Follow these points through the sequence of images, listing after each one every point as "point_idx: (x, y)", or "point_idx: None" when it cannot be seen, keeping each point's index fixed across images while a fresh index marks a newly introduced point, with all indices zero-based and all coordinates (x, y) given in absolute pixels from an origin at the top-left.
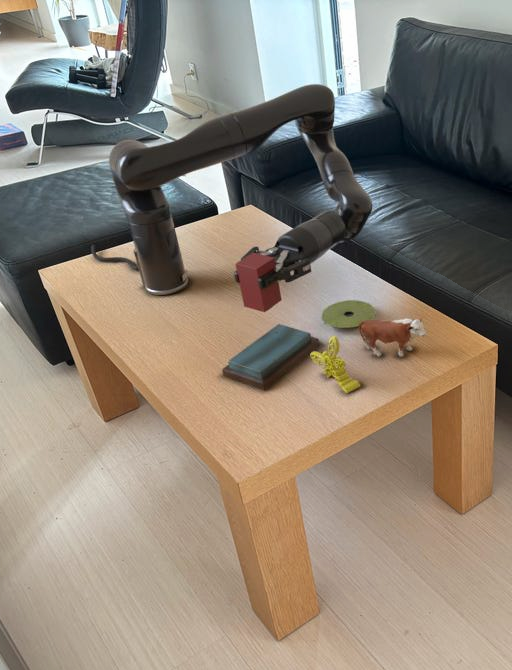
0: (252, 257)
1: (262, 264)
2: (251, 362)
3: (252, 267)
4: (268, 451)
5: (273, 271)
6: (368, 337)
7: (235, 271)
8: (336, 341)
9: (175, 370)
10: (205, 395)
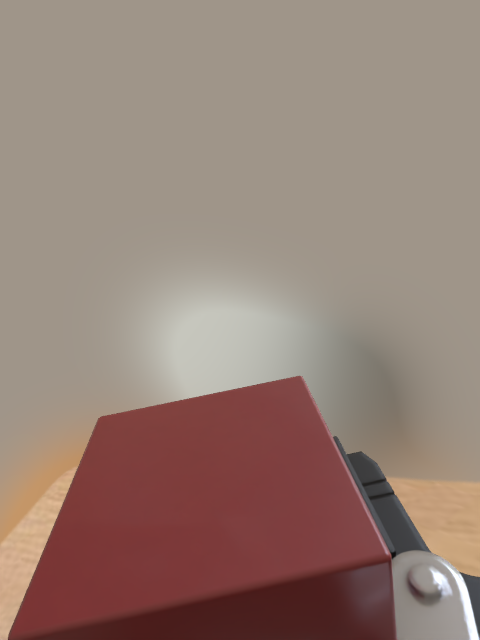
0: (272, 479)
1: (86, 468)
2: None
3: (141, 410)
4: (50, 517)
5: None
6: None
7: (374, 464)
8: None
9: (469, 542)
10: None
